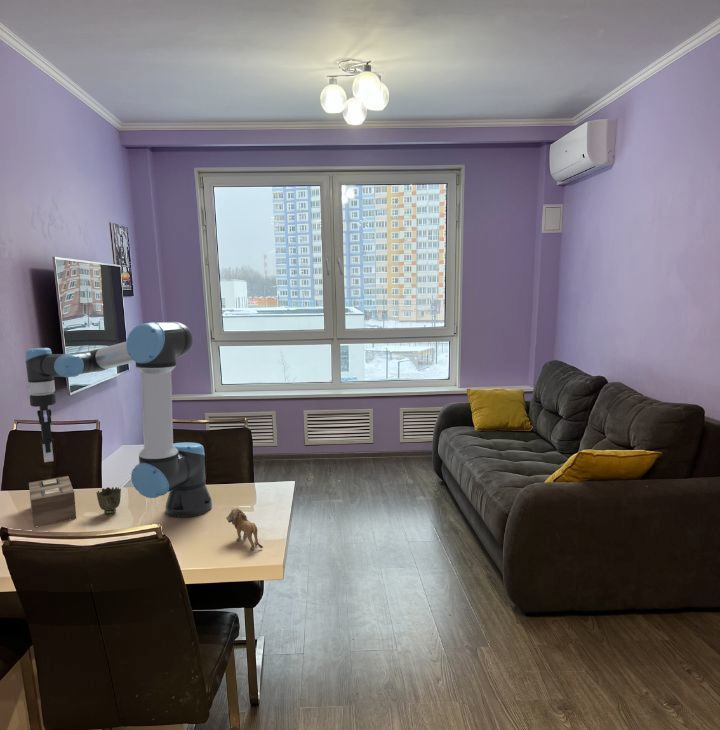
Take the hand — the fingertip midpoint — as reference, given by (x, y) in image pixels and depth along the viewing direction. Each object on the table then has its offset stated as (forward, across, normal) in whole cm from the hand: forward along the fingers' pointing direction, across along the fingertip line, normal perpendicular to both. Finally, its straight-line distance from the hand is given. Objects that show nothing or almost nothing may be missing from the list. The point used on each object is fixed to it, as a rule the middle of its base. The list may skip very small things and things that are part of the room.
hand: (48, 461), depth 178 cm
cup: (+18, +16, +16) cm, 29 cm away
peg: (+15, -1, 0) cm, 15 cm away
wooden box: (+17, +4, 0) cm, 18 cm away
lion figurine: (+19, +63, +45) cm, 80 cm away
